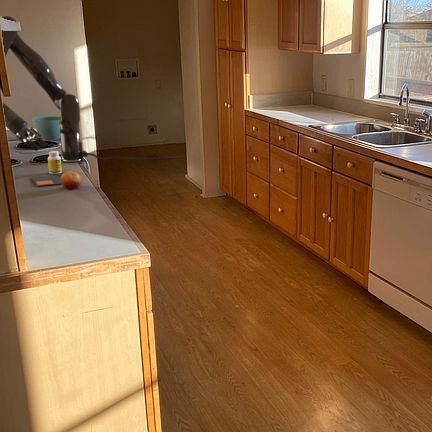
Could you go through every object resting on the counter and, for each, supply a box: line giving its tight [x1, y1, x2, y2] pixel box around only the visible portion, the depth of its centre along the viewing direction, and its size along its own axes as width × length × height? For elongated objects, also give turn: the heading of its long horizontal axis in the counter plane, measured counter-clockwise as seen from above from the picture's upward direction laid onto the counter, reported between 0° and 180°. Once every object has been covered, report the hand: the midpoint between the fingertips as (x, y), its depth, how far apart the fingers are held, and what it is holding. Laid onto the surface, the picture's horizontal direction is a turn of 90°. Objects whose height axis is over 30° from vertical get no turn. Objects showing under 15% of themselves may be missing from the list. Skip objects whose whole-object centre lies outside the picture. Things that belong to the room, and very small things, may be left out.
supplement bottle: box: [47, 150, 63, 175], centre depth 259 cm, size 5×5×10 cm
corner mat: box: [31, 174, 62, 188], centre depth 247 cm, size 16×16×1 cm
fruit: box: [61, 170, 82, 190], centre depth 236 cm, size 8×8×8 cm
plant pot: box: [32, 115, 61, 141], centre depth 336 cm, size 18×18×12 cm
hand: (41, 147), depth 256 cm, fingers open, 8 cm apart
